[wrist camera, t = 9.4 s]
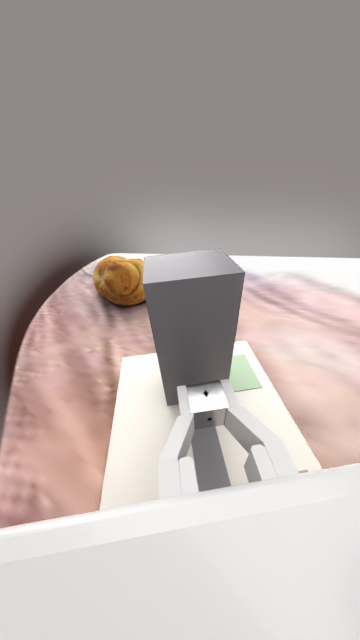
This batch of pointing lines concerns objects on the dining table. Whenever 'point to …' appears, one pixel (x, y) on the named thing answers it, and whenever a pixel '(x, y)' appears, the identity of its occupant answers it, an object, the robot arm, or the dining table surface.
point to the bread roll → (120, 280)
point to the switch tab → (193, 315)
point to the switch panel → (207, 443)
